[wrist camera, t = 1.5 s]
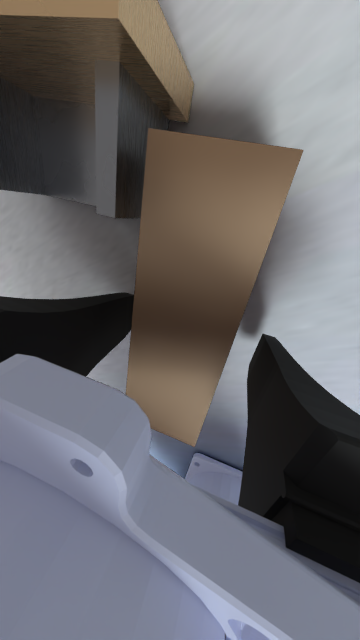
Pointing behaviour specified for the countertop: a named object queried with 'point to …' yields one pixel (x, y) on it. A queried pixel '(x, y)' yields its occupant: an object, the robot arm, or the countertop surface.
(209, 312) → the tan rectangular block
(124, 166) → the bracket
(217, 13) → the countertop surface
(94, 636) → the robot arm
